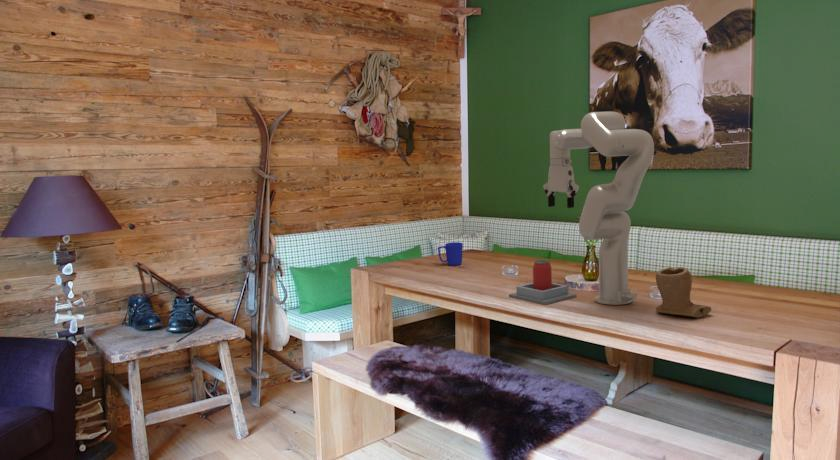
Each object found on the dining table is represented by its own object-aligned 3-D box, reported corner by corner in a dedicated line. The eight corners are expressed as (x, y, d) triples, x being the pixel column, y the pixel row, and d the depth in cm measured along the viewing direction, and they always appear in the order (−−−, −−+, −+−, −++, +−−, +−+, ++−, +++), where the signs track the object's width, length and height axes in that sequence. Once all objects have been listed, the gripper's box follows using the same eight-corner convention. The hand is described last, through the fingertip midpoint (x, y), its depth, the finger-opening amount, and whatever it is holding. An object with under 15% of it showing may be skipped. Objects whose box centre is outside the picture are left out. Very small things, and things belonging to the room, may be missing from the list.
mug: (436, 264, 314) (435, 244, 312) (459, 262, 317) (459, 241, 316) (441, 267, 306) (440, 246, 304) (466, 265, 309) (465, 244, 308)
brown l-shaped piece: (648, 315, 209) (647, 268, 207) (666, 307, 217) (666, 262, 215) (695, 323, 198) (695, 274, 196) (712, 315, 206) (712, 267, 204)
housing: (576, 297, 237) (576, 286, 236) (545, 305, 227) (545, 293, 227) (539, 289, 251) (539, 279, 251) (508, 296, 242) (508, 286, 241)
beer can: (551, 296, 235) (551, 263, 234) (533, 296, 237) (532, 263, 235) (551, 292, 242) (551, 260, 240) (533, 292, 243) (532, 260, 241)
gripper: (584, 162, 249) (585, 207, 252) (550, 162, 263) (550, 205, 265) (571, 163, 245) (571, 209, 247) (536, 163, 259) (537, 206, 261)
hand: (561, 207), depth 256 cm, fingers open, 9 cm apart
